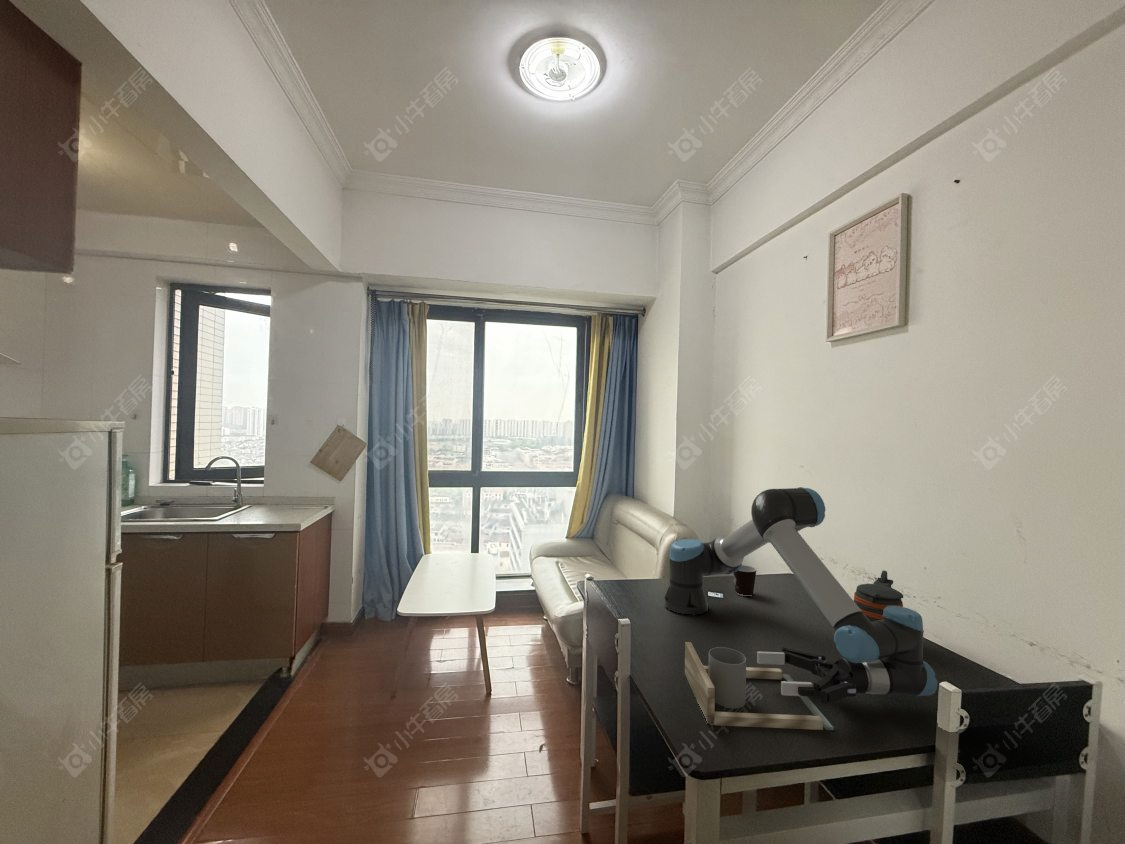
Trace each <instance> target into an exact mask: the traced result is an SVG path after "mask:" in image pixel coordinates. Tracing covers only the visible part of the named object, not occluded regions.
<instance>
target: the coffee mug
mask: <svg viewBox="0 0 1125 844" xmlns="http://www.w3.org/2000/svg"><path fill="white" fill-rule="evenodd" d="M732 574H733V584H734V591H736V592H737V593H739V594H743V595H753V596H754V590H755V583H756V578H757V577H756V575H757V569H756V568H755V567H753V566H751V565H744V564H742V566H741V568H740V569H739V570H738V571H736V572H734V573H732Z"/></svg>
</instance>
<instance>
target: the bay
mask: <svg viewBox="0 0 1125 844" xmlns="http://www.w3.org/2000/svg"><path fill="white" fill-rule="evenodd" d="M684 674H685V677H686V679H687V682H688V683H689V686H690V688H691V691H692V693H693V695H694V698H695V697H696V698H695V700H696V702H697V704H699V705H698V707H699V706H700V707H699V709H700V708H701V709H700V711H701V710H702V712H703V714H704V716H705V718H706V721H707V723H710V724H713V725H712V726H727V727H750V728H769V729H770V728H771V729H772V728H773V729H791V730H793V729H794V730H795V729H796V730H798V729H799V730H817V731H823V730H824V729H825V730H826V731H834V729H835V728H834V726H833V725H832V724H831V723H830V721H829V720H828V719H827V717H825V716H824V714H823V713H822V712H821V711H820V710H819V709H818V707H817V706H816V705H815V704H814V703H813V701H812V700H811V699H810V698H809V696H798V697H799V699H801V701H802V703H804V704H805V706H806V707H807V708H808V709H809V711H810V712H811V713H812V714H813V715H806V714H805V715H802V714H800V715H799V714H781V713H780V714H778V713H759V712H758V713H757V712H756V713H753V712H735V711H734V712H730V711H715V704H716V703H715V687H714V685H713V684H712V682H711V680H710V678H709V676H708V665H704V664H703V663H702V661H701V659H700V657H699V655H698V653H697V651H696V649H695V647H694V645H693V643H692V642H691V641H684ZM746 679H758V680H759V679H761V680H763V679H764V680H783V679H784V681H790V682H796V681H795V680H794V679H793V678H792V677H791V675H790V674H788V673H783V670H782V669H781V668H779V667H778V668H776V667H775V668H774V667H772V668H769V667H752V666H751V667H750V666H749V667H747V666H746ZM702 712H701V713H702ZM703 714H702V715H703ZM704 716H703V717H704ZM706 721H705V722H706ZM707 723H706V724H707Z"/></svg>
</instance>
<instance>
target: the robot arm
mask: <svg viewBox="0 0 1125 844" xmlns="http://www.w3.org/2000/svg"><path fill="white" fill-rule="evenodd" d="M825 517H826V506H825V502H824V500H823V498H822V496H821V495H820V494H819V492H817V491H816V490H815V489H812V488H809V487H794V488H792V487H791V488H789V487H787V488H768V489H766V490H763V491H761V492H760V493H759V494H757V495H756V497H755V498H754V500H753V501H752V505H751V519H750V520H749V521H748V522H746V523H744V524H743V525H742V526H740V527H739V528H737V529H736V530H734V531H733V532H732V533H730V534H729V535H726V534H722V535H719V536H718V537H716V538H714V539H713V540H712V541H710V542H709V541H708V542H703V541H701V540H699V539H696V538H684V539H683V538H682V539H678V540H676V541H673V542H672V543H671V545H670V547H669V555H668V557H669V573H668V575H669V578H668V579H669V581H668V583H669V584H668V586H667V590H666V592H665V595H664V599H663V605H665V606H666V607H667V608H668V609H670V610H672V611H674V612H673V613H675V612H677V613H676V614H678V613H682V614H681V615H683V614H701V613H704V612H706V611H707V612H708V610H709V609H708V599H707V597H706V596H707V595H706V594H705V591H704V582H703V581H704V578H705V577H711V576H719V575H730V574H731V575H732V574H733V573H734V572H736V571H738V570H739V569H740V568H741V566H742V565H743V561H744V558H745V557H747V556H748V555H750V554H752V553H754V552H755V551H757V550H758V549H760V548H762V547H763V546H765V545H767V544H771V545H772V547H773V548H774V550H776V552H777V553H778V555H779V557H780V558H781V559H782V561H784V562H785V564H786V566H787V567H788V568H789V570H790V571H791V572H792V574H793V576H795V578H796V579H797V580H798V582H799V583H800V585H801V586H802V588H803V589H804V590H805V591H806V593H807V594H808V596H810V598H811V600H813V602H814V603H815V605H816V606H817V608H818V609H819V610H820V611H821V613H822V615H823V616H824V617H825V618H826V619H827V621H828V622H829V624H830V625H831V626H832V627H833V629H834V631H835V632H834V636H833V642H834V644H835V646H836V650H837V651H838V653H839V654H840V655H841V656H840V657H838V658H837V659H836V661H835V662H831V661H829V660H826V659H827V657H826V655H825V654H816V653H810V652H805V651H801V650H797V649H792V648H788V647H781V651H780V652H779V651H778V652H776V651H756V662H757V664H758V665H778V666H779V665H783V666H785V665H786V664H788V665H791V666H794V667H797V668H800V669H802V670H806V671H808V672H811V673H812V674H813V675H814V676H818V677H819V678H820V680H818V681H817V682H815V681H813V683H812V682H809V681H795V682H790V681H786V680H783V681H782V680H781V681H780V694H781V696H790V697H799V696H807V697H811V698H812V697H813V698H814V699H817V700H820V702H821V703H822V705H828V704H831V703H833V702H834V703H835V702H837V701H840V700H843V699H845V698H849V697H850V698H851V697H852V698H853V697H856V696H857V695H858V694H861V695H864V694H868V695H869V694H871V695H873V696H875V695H889V696H890V695H891V696H892V695H893V696H894V695H895V696H910V697H926V696H932V695H933V694H935V693H936V691H937V688H938V680H937V678H936V673H935V671H934V670H933V668H932V666H931V664H928V662H927V661H924V659H923V658H924V633H925V630H924V623H923V618H922V617H923V616H921V614H920V613H919V612H918V611H916V610H914V609H911V608H909V607H905V606H903V607H900V606H887V607H885V608H884V611H883V615H882V617H883V619H882V620H877V621H871V622H870V620H869V619H868V618H867V617H866V615H865V614H864V613H863V612H862V611H861V609H860V608H859V607H858V606H857V604H856V603H855V602H854V599H853V598H852V597H851V596H850V594H849V593H848V592H847V591H846V590H845V589H844V587H843V586H842V585H841V583H840V582H839V581H838V580H837V578H836V577H835V576H834V574H832V572H831V571H830V570H829V569H828V567H827V566H826V565H825V564H824V563H823V561H822V560H821V559H820V557H819V556H818V555H817V554H816V552H815V550H813V549H812V547H810V545H809V544H808V543H807V541H806V540H805V538H804V537H803V536H802V535H801V534H800V533H799V532H800V531H801V530H804V529H806V528H814V527H817V526H819V525H821V524H822V523H823V522H824V520H825ZM665 606H664V607H665ZM666 607H665V608H666ZM667 608H666V609H667ZM668 609H667V610H668ZM670 610H669V611H670ZM672 611H671V612H672ZM707 612H706V613H707ZM704 614H705V613H704ZM701 615H702V614H701Z"/></svg>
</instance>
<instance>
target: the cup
mask: <svg viewBox="0 0 1125 844" xmlns="http://www.w3.org/2000/svg"><path fill="white" fill-rule="evenodd" d="M707 666H708V676H709V678H710V680H711V682H712V684H713V685H714V687H715V702H717V703H718V704H720V705H723V706H724V707H723V708H726V707H727V708H728V709H731V710H732V709H740V708H742V707H745V705H746V701H747V699H746V697H747V678H746V667H747V657H746V656H745V654H743V653H742V652H741V651H739V650H736V649H733V648H731V647H730V648H729V647H725V646H717V647H714V648H710V649H709V651H708V664H707ZM718 704H717V705H718ZM720 705H719V706H720Z"/></svg>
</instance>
